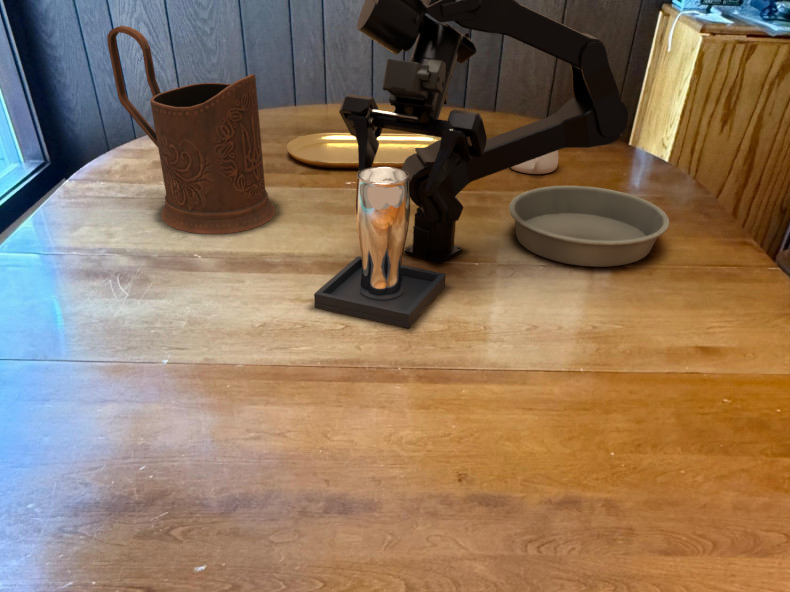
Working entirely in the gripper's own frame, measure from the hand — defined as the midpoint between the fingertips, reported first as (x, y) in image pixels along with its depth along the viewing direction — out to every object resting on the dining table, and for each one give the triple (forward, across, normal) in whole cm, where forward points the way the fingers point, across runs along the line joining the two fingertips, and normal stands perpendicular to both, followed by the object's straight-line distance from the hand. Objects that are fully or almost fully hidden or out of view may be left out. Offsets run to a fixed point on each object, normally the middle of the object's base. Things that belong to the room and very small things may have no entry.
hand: (393, 188), depth 100 cm
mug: (-33, +4, +52) cm, 61 cm away
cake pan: (-11, +21, +30) cm, 38 cm away
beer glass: (+11, 0, +7) cm, 13 cm away
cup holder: (0, -39, +19) cm, 44 cm away
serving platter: (-28, -26, +47) cm, 60 cm away
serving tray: (+12, 0, +7) cm, 14 cm away
